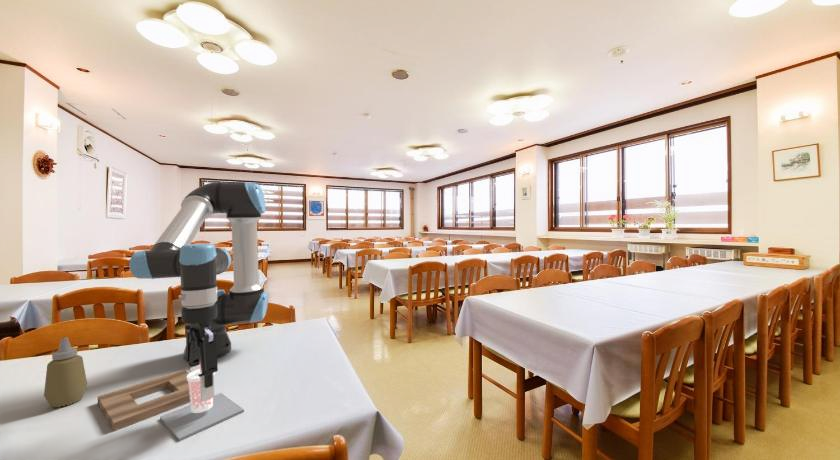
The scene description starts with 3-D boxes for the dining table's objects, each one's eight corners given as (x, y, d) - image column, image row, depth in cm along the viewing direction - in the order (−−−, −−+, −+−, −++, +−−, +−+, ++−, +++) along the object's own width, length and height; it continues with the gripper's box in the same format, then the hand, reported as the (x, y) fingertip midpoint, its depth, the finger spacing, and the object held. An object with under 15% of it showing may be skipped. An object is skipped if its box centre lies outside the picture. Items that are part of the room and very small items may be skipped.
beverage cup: (221, 404, 84) (220, 351, 83) (197, 417, 78) (195, 360, 78) (206, 399, 86) (205, 347, 86) (182, 411, 81) (180, 356, 80)
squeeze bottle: (65, 395, 93) (63, 333, 92) (95, 393, 93) (93, 332, 93) (34, 411, 85) (31, 344, 84) (67, 410, 85) (65, 342, 85)
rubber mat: (160, 419, 81) (160, 416, 81) (221, 394, 92) (221, 392, 92) (179, 441, 72) (179, 438, 72) (243, 411, 84) (243, 409, 84)
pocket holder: (97, 403, 88) (97, 396, 88) (184, 375, 104) (183, 369, 104) (114, 431, 76) (113, 422, 76) (208, 394, 92) (208, 387, 92)
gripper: (169, 302, 84) (171, 389, 85) (196, 314, 73) (199, 414, 73) (201, 297, 90) (204, 378, 91) (232, 307, 79) (234, 400, 79)
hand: (202, 394), depth 82 cm, fingers closed on beverage cup, 6 cm apart
